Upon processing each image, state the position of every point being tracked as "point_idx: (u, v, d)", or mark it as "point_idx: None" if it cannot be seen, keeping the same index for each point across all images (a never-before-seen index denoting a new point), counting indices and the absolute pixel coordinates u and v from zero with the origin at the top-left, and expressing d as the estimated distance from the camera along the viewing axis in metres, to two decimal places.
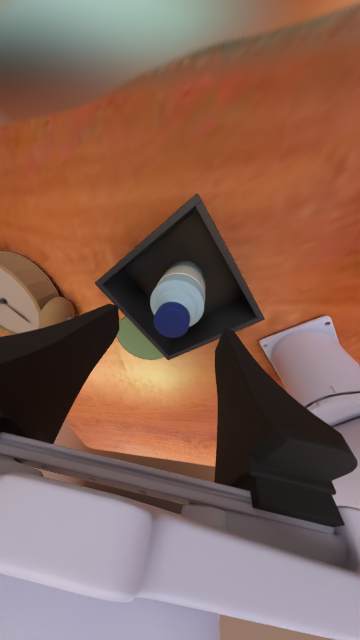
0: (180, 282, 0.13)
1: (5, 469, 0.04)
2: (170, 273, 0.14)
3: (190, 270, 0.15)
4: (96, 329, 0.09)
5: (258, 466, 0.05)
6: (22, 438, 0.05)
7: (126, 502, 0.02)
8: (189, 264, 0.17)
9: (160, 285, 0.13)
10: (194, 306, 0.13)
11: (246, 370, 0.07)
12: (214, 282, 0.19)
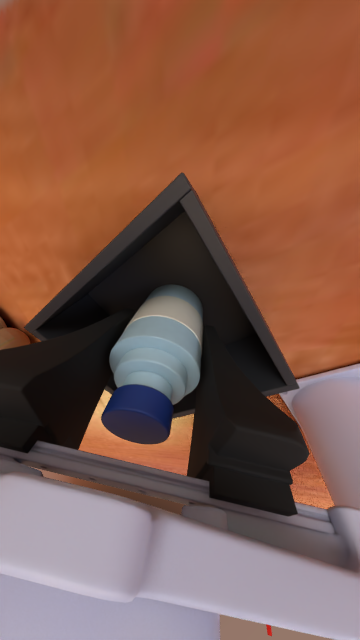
0: (156, 340, 0.07)
1: (5, 469, 0.04)
2: (144, 314, 0.09)
3: (178, 306, 0.10)
4: (117, 334, 0.09)
5: (217, 456, 0.05)
6: None
7: (126, 502, 0.02)
8: (178, 292, 0.11)
9: (122, 342, 0.07)
10: (182, 382, 0.07)
11: (217, 364, 0.07)
12: (216, 314, 0.13)
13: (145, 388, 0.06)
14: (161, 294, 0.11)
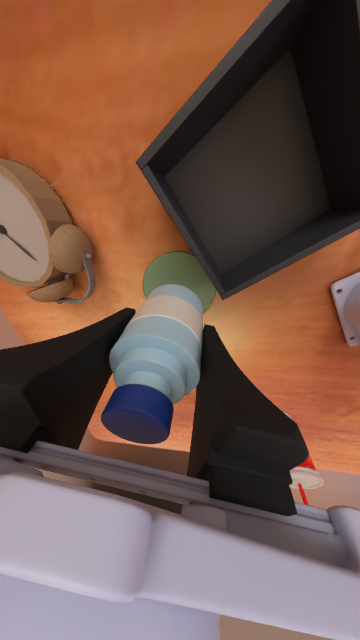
0: (155, 340, 0.07)
1: (5, 469, 0.04)
2: (144, 314, 0.09)
3: (178, 305, 0.10)
4: (117, 334, 0.09)
5: (216, 456, 0.05)
6: None
7: (126, 502, 0.02)
8: (178, 291, 0.11)
9: (122, 342, 0.07)
10: (182, 382, 0.07)
11: (217, 364, 0.07)
12: (288, 191, 0.14)
13: (145, 388, 0.06)
14: (161, 294, 0.11)
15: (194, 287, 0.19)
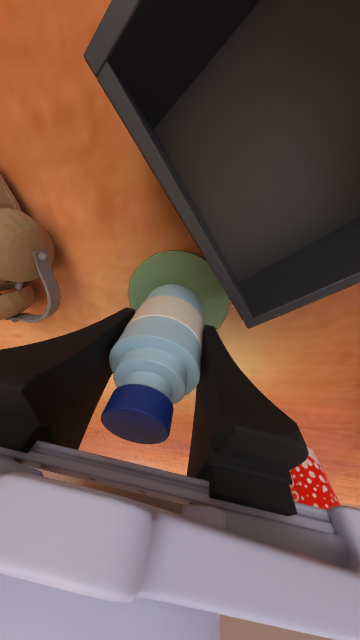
0: (156, 339, 0.07)
1: (5, 469, 0.04)
2: (144, 314, 0.09)
3: (178, 305, 0.10)
4: (117, 334, 0.09)
5: (217, 456, 0.05)
6: None
7: (126, 502, 0.02)
8: (178, 291, 0.11)
9: (122, 342, 0.07)
10: (182, 382, 0.07)
11: (217, 364, 0.07)
12: (359, 150, 0.08)
13: (145, 388, 0.06)
14: (161, 294, 0.11)
15: None
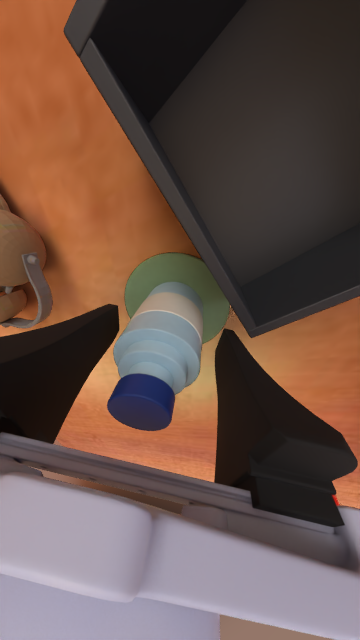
0: (158, 332, 0.08)
1: (5, 469, 0.04)
2: (146, 309, 0.09)
3: (179, 302, 0.10)
4: (96, 329, 0.09)
5: (258, 466, 0.05)
6: (22, 438, 0.05)
7: (126, 502, 0.02)
8: (179, 289, 0.11)
9: (126, 335, 0.08)
10: (183, 372, 0.08)
11: (246, 370, 0.07)
12: None
13: (148, 377, 0.07)
14: (162, 291, 0.11)
15: None
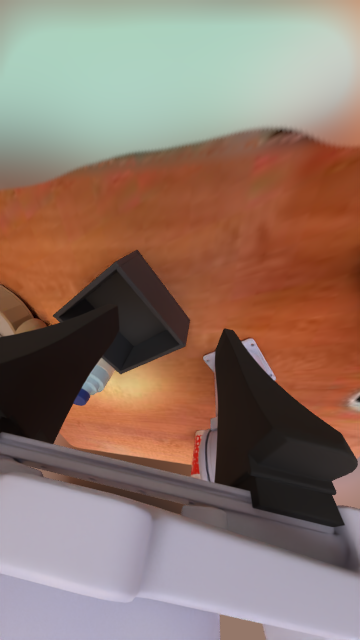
0: None
1: (5, 469, 0.04)
2: None
3: None
4: (96, 329, 0.09)
5: (258, 466, 0.05)
6: (22, 438, 0.05)
7: (126, 502, 0.02)
8: None
9: None
10: (94, 386, 0.23)
11: (246, 370, 0.07)
12: None
13: None
14: None
15: None
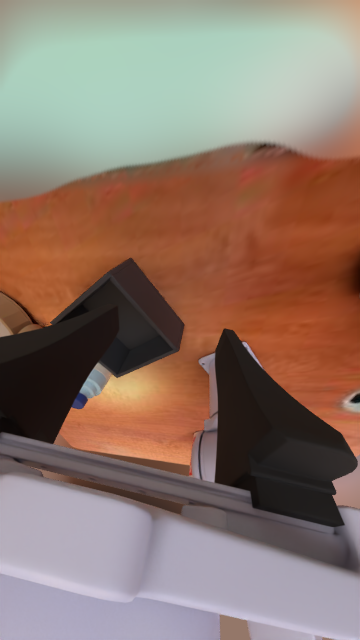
0: None
1: (5, 469, 0.04)
2: None
3: None
4: (96, 329, 0.09)
5: (258, 466, 0.05)
6: (22, 438, 0.05)
7: (126, 502, 0.02)
8: None
9: None
10: (91, 390, 0.23)
11: (246, 370, 0.07)
12: None
13: None
14: None
15: None
